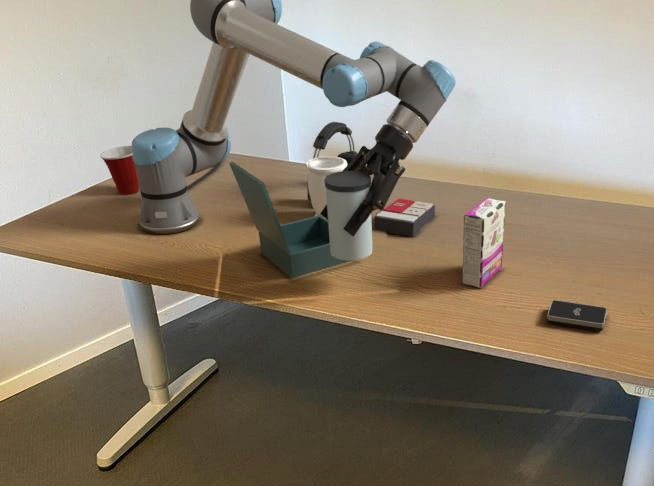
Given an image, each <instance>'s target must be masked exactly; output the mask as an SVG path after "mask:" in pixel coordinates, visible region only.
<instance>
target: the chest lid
mask: <svg viewBox="0 0 654 486" xmlns="http://www.w3.org/2000/svg"><path fill="white" fill-rule="evenodd" d="M228 164H229V167H230V169H231V171H232V174H233V176H234V179H235V181H236V183H237V186H238V188H239V190H240V193H241V195H242V198H243V201H244V202H245V206H246V207H247V210H248V213H249V214H250V217H251V219H252V221H253V224H254V227H255V229H256V231H258V233H259V232H261V233H262V234H263V235H264V236H266V237H267V238H268V239H269V240H271V241H272V242H273V243H274V244H276V245H277V246H278V247H280V248H281V249H282V250H283V251H285V252H286V253H287V254H290V253H291V251H290V248H289V245H288V243H287V240H286V238H285V235H284V233H283V230H282V227H281V225H282V224H281V222H280V220H279V217H278V215H277V212H276V210H275V207H274V204H273V201H272V199H271V197H270V194H269V192H268V189H267V186H266V183H265V182H263V180H261V179H259V178H257V177H256V176H255V175H253V174H252V173H250V172H249V171H248V170H246V169H244V168H243V167H241V166H240V165H238V164H237V163H236V162H234V161H230V162H228Z"/></svg>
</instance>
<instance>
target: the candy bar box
mask: <svg viewBox="0 0 654 486" xmlns="http://www.w3.org/2000/svg"><path fill="white" fill-rule="evenodd" d="M506 202H507V201H506V200H502V199H496V198H492V197H485V198H484V199H482V201H480V202H478V204H476V205H475V206H474V207H472V208H471V209H470V210H468V211H467V212H466V213H464V215H463V238H462V239H463V242H462V245H463V246H462V247H463V248H462V275H461V277H462V278H461V279H462V281H461V283H462V284H463V285H466V286H469V287H473V288H474V287H475V288H478V289H482V288H483V287H484V286H485V285H487V284H488V282H489V281H490V280H491V279H492V278H493V277H495V275H496V274H498V273H499V272H500V271H501V270H503V269H502V268H503V250H504V235H505V220H506V219H505V218H506V205H507V204H506Z"/></svg>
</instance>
